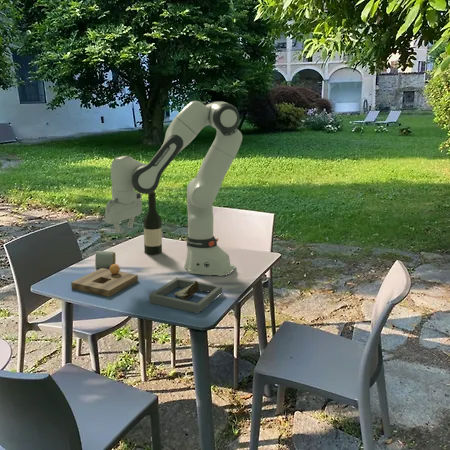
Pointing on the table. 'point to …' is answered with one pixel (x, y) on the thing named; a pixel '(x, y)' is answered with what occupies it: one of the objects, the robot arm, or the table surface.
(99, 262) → the ceramic mug
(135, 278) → the board
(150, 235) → the wine bottle
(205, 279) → the table surface
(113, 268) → the rubber ball
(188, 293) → the rock sample
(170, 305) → the slate dish rim
